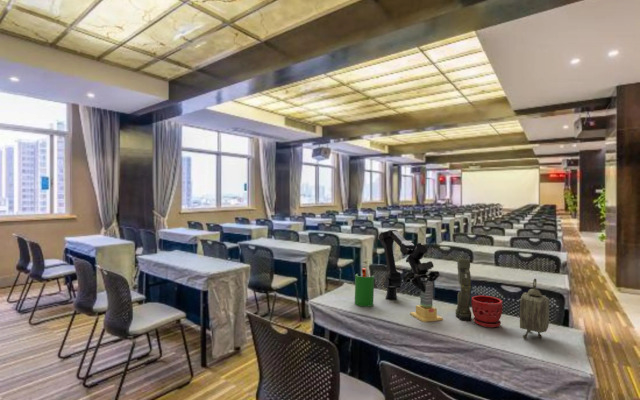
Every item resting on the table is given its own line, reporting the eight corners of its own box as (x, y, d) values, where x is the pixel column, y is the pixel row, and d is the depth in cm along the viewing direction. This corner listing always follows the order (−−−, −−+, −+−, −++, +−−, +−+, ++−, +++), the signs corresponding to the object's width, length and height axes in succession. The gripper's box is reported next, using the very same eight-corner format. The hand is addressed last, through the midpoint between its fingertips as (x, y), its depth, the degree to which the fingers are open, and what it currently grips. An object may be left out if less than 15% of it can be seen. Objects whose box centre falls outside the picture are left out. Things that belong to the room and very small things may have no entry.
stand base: (410, 314, 171) (410, 304, 171) (428, 312, 175) (428, 302, 175) (423, 322, 161) (423, 311, 161) (442, 319, 164) (442, 309, 164)
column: (420, 304, 169) (420, 280, 169) (427, 304, 170) (427, 280, 170) (425, 307, 165) (425, 282, 165) (432, 306, 167) (433, 282, 167)
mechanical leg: (475, 322, 160) (473, 257, 167) (459, 320, 161) (457, 257, 168) (468, 319, 173) (467, 260, 180) (453, 318, 174) (452, 259, 181)
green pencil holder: (372, 302, 190) (373, 266, 190) (373, 307, 182) (374, 269, 182) (354, 301, 191) (355, 265, 191) (354, 306, 183) (355, 268, 183)
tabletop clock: (525, 329, 155) (526, 274, 155) (548, 334, 149) (550, 277, 149) (519, 339, 143) (520, 279, 143) (544, 345, 138) (546, 283, 138)
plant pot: (477, 317, 169) (477, 293, 169) (505, 324, 160) (506, 299, 160) (466, 323, 160) (466, 298, 160) (496, 331, 151) (496, 304, 151)
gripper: (406, 256, 169) (419, 284, 158) (438, 255, 174) (452, 281, 164) (397, 268, 176) (409, 296, 166) (428, 267, 182) (441, 293, 172)
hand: (428, 291), depth 167 cm, fingers closed on column, 4 cm apart
